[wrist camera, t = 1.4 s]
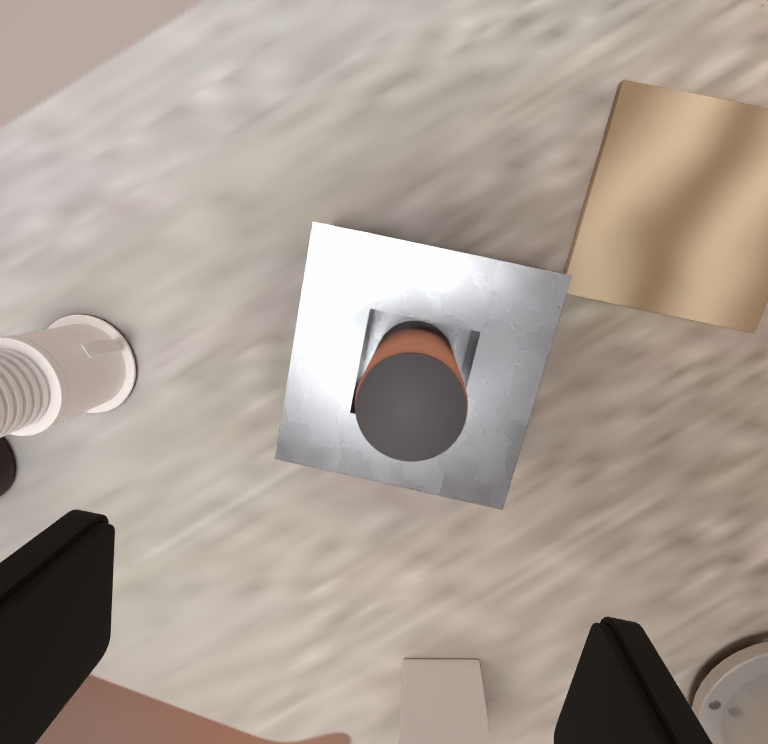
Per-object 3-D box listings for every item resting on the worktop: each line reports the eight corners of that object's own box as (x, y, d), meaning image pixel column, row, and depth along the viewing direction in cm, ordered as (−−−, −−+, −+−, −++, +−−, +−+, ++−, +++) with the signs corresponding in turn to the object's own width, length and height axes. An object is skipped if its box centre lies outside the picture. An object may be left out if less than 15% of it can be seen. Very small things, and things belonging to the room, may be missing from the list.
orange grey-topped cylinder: (461, 329, 30) (482, 366, 20) (443, 403, 31) (454, 474, 21) (384, 313, 30) (364, 341, 20) (369, 387, 31) (343, 450, 21)
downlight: (105, 292, 32) (-32, 306, 22) (163, 380, 33) (56, 430, 24) (18, 346, 34) (-145, 382, 24) (76, 429, 35) (-57, 495, 25)
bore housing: (547, 272, 30) (572, 275, 25) (490, 473, 33) (502, 509, 28) (330, 227, 30) (312, 221, 25) (296, 429, 33) (275, 458, 29)
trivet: (829, 125, 27) (838, 122, 26) (747, 331, 30) (754, 333, 29) (619, 83, 27) (623, 79, 26) (558, 292, 30) (561, 292, 29)
